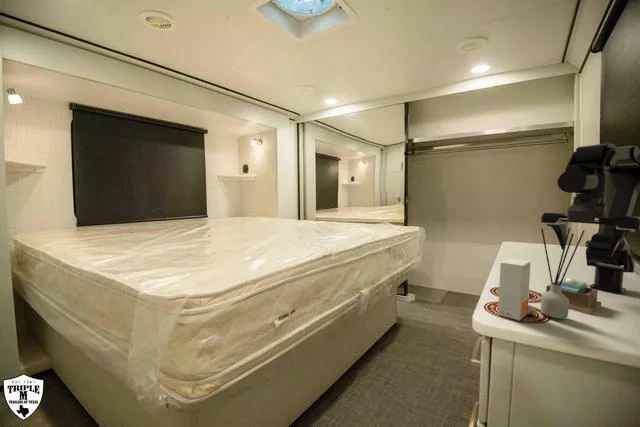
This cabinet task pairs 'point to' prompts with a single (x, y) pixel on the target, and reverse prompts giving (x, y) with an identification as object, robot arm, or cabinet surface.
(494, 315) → the cabinet surface
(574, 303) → the pocket holder
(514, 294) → the skincare box
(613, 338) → the cabinet surface
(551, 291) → the reed diffuser
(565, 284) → the block
